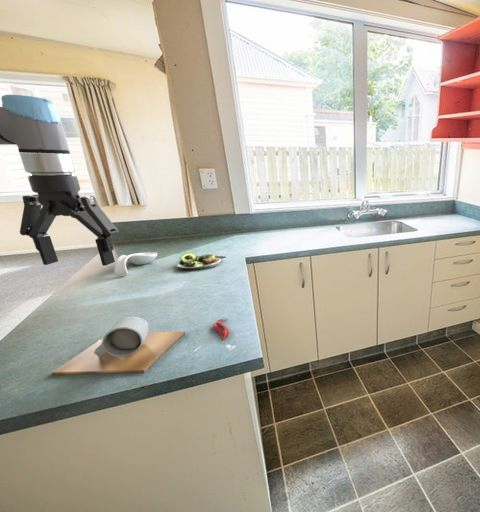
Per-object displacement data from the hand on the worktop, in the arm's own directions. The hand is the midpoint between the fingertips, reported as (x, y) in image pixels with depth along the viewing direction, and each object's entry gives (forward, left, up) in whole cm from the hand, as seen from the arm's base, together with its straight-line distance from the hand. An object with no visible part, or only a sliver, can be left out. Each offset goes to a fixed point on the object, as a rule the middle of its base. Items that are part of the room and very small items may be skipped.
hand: (80, 263), depth 72 cm
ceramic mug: (+9, -6, -21) cm, 24 cm away
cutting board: (+10, -6, -22) cm, 24 cm away
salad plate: (-7, +60, -22) cm, 65 cm away
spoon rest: (-33, +58, -22) cm, 70 cm away
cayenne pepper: (+29, +4, -22) cm, 36 cm away
